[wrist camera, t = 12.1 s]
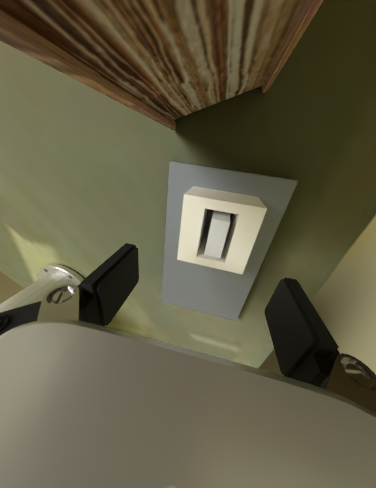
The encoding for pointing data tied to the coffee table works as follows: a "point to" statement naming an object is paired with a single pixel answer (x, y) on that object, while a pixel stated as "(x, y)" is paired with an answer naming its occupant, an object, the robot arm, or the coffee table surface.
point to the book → (160, 46)
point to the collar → (240, 232)
